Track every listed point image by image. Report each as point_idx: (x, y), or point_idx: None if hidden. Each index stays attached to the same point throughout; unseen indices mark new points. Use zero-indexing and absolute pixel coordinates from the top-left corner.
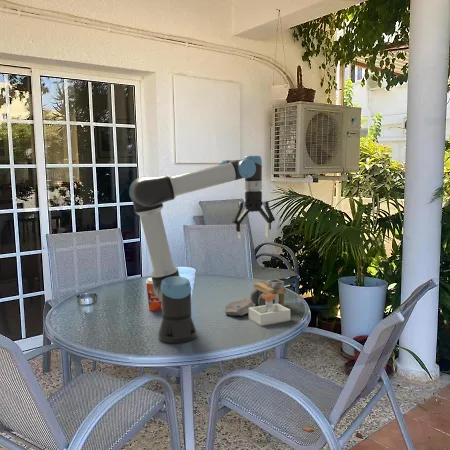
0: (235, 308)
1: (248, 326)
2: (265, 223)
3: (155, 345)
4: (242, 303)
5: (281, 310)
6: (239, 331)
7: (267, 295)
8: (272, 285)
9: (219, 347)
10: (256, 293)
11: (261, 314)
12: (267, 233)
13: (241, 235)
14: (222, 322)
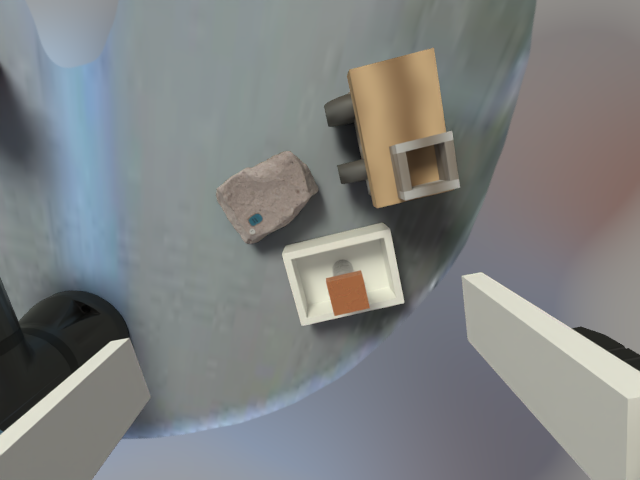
0: (243, 229)
1: (271, 305)
2: (605, 397)
3: None
4: (272, 200)
5: (375, 303)
6: (241, 333)
7: (340, 301)
8: (400, 192)
9: (181, 412)
10: (345, 118)
11: (305, 324)
12: (490, 355)
13: (120, 432)
14: (205, 258)
